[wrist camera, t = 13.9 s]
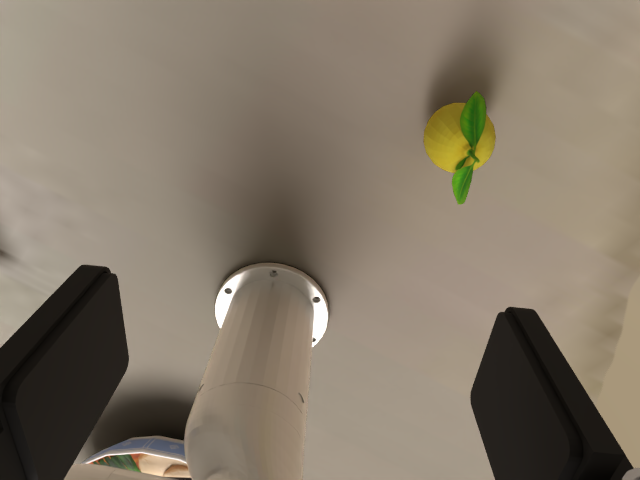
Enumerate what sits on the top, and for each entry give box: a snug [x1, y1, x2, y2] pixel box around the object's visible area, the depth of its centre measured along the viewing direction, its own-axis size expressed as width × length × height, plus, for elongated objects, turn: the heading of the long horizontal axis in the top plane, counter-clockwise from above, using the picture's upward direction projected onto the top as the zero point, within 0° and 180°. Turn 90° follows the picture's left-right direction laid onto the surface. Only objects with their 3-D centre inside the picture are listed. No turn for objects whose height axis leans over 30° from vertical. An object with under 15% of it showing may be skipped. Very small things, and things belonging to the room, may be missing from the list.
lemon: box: [424, 91, 496, 204], centre depth 36 cm, size 7×6×10 cm
